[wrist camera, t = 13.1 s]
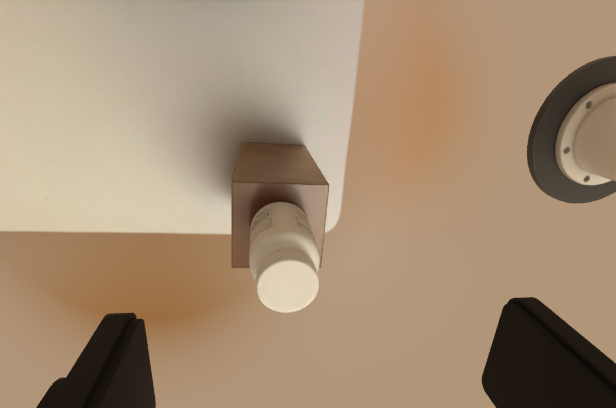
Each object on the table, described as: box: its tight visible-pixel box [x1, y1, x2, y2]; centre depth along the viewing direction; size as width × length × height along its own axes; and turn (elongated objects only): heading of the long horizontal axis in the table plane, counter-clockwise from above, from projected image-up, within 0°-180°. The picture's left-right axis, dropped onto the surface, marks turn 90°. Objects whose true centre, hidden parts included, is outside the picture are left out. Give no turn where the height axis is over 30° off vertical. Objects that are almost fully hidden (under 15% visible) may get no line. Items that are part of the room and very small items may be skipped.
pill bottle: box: [249, 202, 320, 312], centre depth 22 cm, size 4×4×8 cm
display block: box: [232, 142, 329, 268], centre depth 32 cm, size 7×7×14 cm
